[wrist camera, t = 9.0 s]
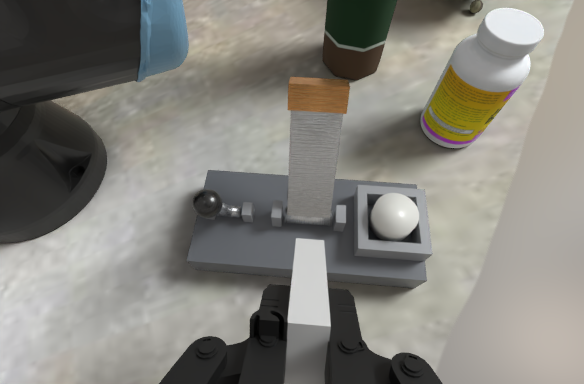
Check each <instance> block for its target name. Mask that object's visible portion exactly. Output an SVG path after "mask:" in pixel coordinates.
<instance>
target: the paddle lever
mask: <svg viewBox="0 0 584 384" xmlns="http://www.w3.org/2000/svg"><path fill="white" fill-rule="evenodd" d="M349 90H350V86H349V82H348V80H341V79H323V78H305V77H291V78H290V81H289V86H288V110H291V124H290V153H289V181H288V206H286V209H285V222H286V223H299V224H313V225H326V226H331V224H332V210H331V205H332V197H333V189H334V181H335V173H336V165H337V157H338V149H339V141H340V133H341V125H342V117H343V114H346V113H347V105H348V97H349Z"/></svg>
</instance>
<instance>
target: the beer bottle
mask: <svg viewBox="0 0 584 384" xmlns="http://www.w3.org/2000/svg"><path fill="white" fill-rule="evenodd" d="M396 2H397V0H328V1H327V12H326V22H325V33H324V44H323V62H324V63H325V65H326V66H327V67H328V68H329V69H330V70H331V72H332V73H333V74H334V75H335V76H338V77H343V78H348V79H353V80H358V79H361V78H363V77H365V76H368V75H370V74H372V73H374V72H376V70H377V67H378V64H379V62H380V59H381V55H382V52H383V48H384V45H385V41H386V38H387V34H388V31H389V27H390V23H391V20H392V16H393V13H394V9H395V6H396Z"/></svg>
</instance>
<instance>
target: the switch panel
mask: <svg viewBox="0 0 584 384" xmlns="http://www.w3.org/2000/svg"><path fill="white" fill-rule="evenodd" d="M288 181H289V176H287V175H273V174H258V173H244V172H230V171H215V170H208V173H207V177H206V181H205V185H204V189H211V190H214V191H216V192H217V193H218V194H219V195H220V196H221V198H222V202H223V203H225V204H227V205H232V206H241V208H242V211H241V217H227V216H217V215H216V216H215V217H212V218H202V217H200V216H198V215H197V219H196V223H195V227H194V231H193V235H192V240H191V244H190V248H189V252H188V256H187V260H186V261H187V262H188V263H189V264H190V265H191V266H193V267H194V268H195V269H196V270H205V271H217V272H229V273H241V274H253V275H265V276H277V277H289V278H292V272H293V262H294V253H295V243H296V238H301V239H314V240H324V246H325V258H326V271H327V281H336V282H348V283H360V284H372V285H384V286H396V287H407V288H416V287H417V286H419V285H421V284H422V283H424V282H426V281H427V277H426V268H425V260H426V259H427V258H429V257H430V256H431V255H432V254H433V253H432V245H431V237H430V228H429V220H428V211H427V203H426V195H425V189H417V185H415V184H401V183H387V182H373V181H358V180H344V179H335V181H334V189H333V197H332V205H331V210H332V224H331V226H326V225H313V224H299V223H286V222H285V209H286V206H288ZM204 189H203V190H204ZM388 193H399V194H402V195H405V196H407V197H408V198H410V199H411V200H412V201H413V202H414V203H415V205H416V206H417V208H418V211H419V221H418V224H417V226H416V227H415V228H414V229H413V230H412V231H411V233H410V234H409V235H408V236H407V237H406V238H405V239H403V240H401V241H399V242H392V241H384V240H382V239H380V238H378V237H377V236H376V235H375V234H374V233H373V231H372V230H371V228H370V225H369V215H370V213H371V211H372V209H373V207H374V205H375V203H376V201H377V200H378V199H379V198H380V197H381V196H383V195H385V194H388Z"/></svg>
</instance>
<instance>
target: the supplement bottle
mask: <svg viewBox="0 0 584 384" xmlns="http://www.w3.org/2000/svg"><path fill="white" fill-rule="evenodd" d="M543 35H544V28H543V26H542V24H541V23H540V22H539V20H537V19H536V18H535V17H534V16H532V15H530V14H529V13H526V12H524V11H521V10H518V9H514V8H498V9H495V10H492V11H490V12H489V13H488V14H487V15H486V16H485V18H484V19H483V21H482V23H481V24H480V26H479V28H478V32H477V34H474V35H471V36H469V37H467V38H465V39H464V40H462V41H461V42H460V43H459V44H458V45H457V46H456V48H455V50H454V51H453V53H452V55H451V57H450V59H449V61H448V63H447V65H446V67H445V69H444V71H443V73H442V75H441V77H440V79H439V81H438V83H437V85H436V87H435V89H434V91H433V93H432V95H431V96H430V98H429V100H428V102H427V104H426V106H425V108H424V110H423V112H422V114H421V119H420V123H421V127H422V130H423V132H424V133H425V134H426V136H427V137H428V138H429V139H430V140H432V141H433V142H435V143H437V144H439V145H441V146H444V147H448V148H462V147H466V146H468V145H470V144H472V143H473V142H474V141H475V140H476V139H477V138H478V137H479V136H480V135H481V133H482V132H483V131H484V130H485V129H486V127H487V126H488V125H489V124H490V122H491V121H492V120H493V119H494V117H495V116H496V115H497V114H498V112H499V111H500V110H501V109H502V107H503V106H504V105H505V104H506V102H507V101H508V100H509V99H510V97H511V96H512V95H513V94H514V93H515V91H516V90H517V89H518V88H519V86H520V85H521V84H522V83H523V81H524V80H525V79H526V77H527V76H528V74H529V71H530V58H529V55H528V54H529V53H530V52H532V51H533V50H534V49H535V47H536V46H537V45H538V43H539V42H540V41H541V39H542V38H543Z"/></svg>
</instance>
